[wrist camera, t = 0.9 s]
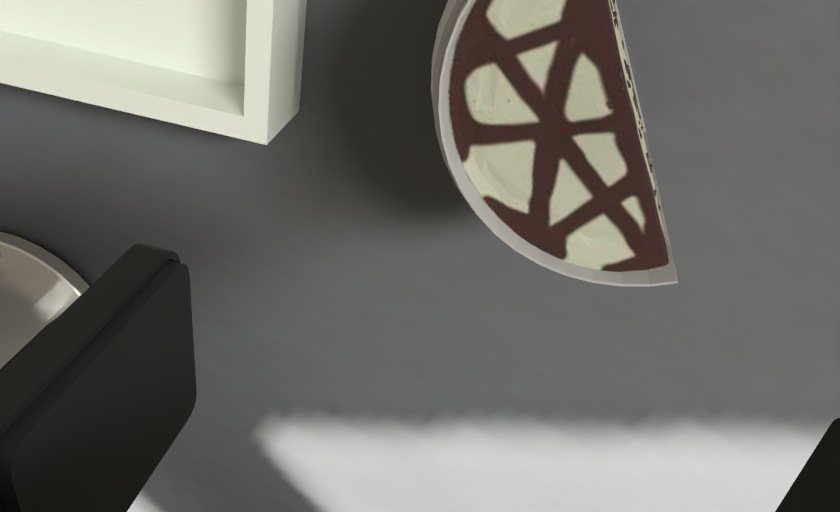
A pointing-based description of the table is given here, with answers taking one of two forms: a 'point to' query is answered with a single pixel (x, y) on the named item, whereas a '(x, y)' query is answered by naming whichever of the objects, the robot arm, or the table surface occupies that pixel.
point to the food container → (551, 136)
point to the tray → (163, 58)
